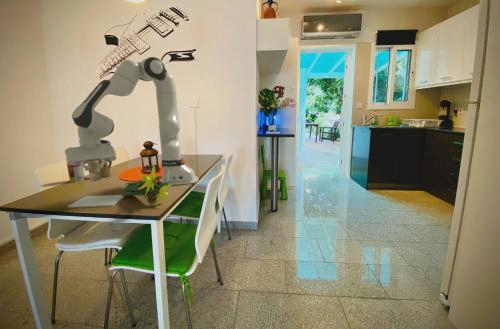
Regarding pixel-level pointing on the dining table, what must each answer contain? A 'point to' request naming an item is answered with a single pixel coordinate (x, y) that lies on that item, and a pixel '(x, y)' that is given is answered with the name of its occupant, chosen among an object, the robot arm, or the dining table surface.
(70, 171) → the canned food
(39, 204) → the dining table surface
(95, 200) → the grey-blue mat
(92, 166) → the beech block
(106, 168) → the wooden mug
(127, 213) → the dining table surface
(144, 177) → the daffodil flowers
